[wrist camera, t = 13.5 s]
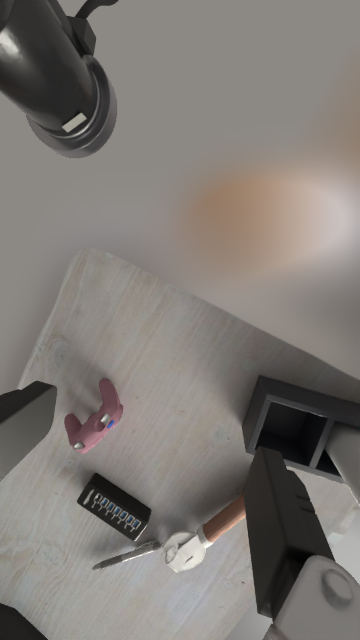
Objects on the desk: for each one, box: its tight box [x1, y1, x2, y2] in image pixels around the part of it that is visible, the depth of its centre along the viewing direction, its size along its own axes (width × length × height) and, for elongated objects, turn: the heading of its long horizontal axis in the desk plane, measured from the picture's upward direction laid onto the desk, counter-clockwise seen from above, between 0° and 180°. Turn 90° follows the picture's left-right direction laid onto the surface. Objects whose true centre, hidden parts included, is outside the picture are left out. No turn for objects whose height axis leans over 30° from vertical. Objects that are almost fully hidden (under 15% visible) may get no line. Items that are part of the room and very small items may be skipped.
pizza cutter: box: [162, 493, 246, 573], centre depth 40 cm, size 20×6×3 cm, turn 136°
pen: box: [92, 540, 163, 570], centre depth 44 cm, size 1×14×1 cm, turn 120°
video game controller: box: [64, 379, 123, 454], centre depth 38 cm, size 10×5×7 cm, turn 136°
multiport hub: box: [77, 473, 151, 541], centre depth 42 cm, size 4×11×2 cm, turn 58°
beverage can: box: [324, 420, 360, 506], centre depth 29 cm, size 5×5×12 cm
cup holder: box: [242, 375, 360, 485], centre depth 34 cm, size 8×15×6 cm, turn 76°
